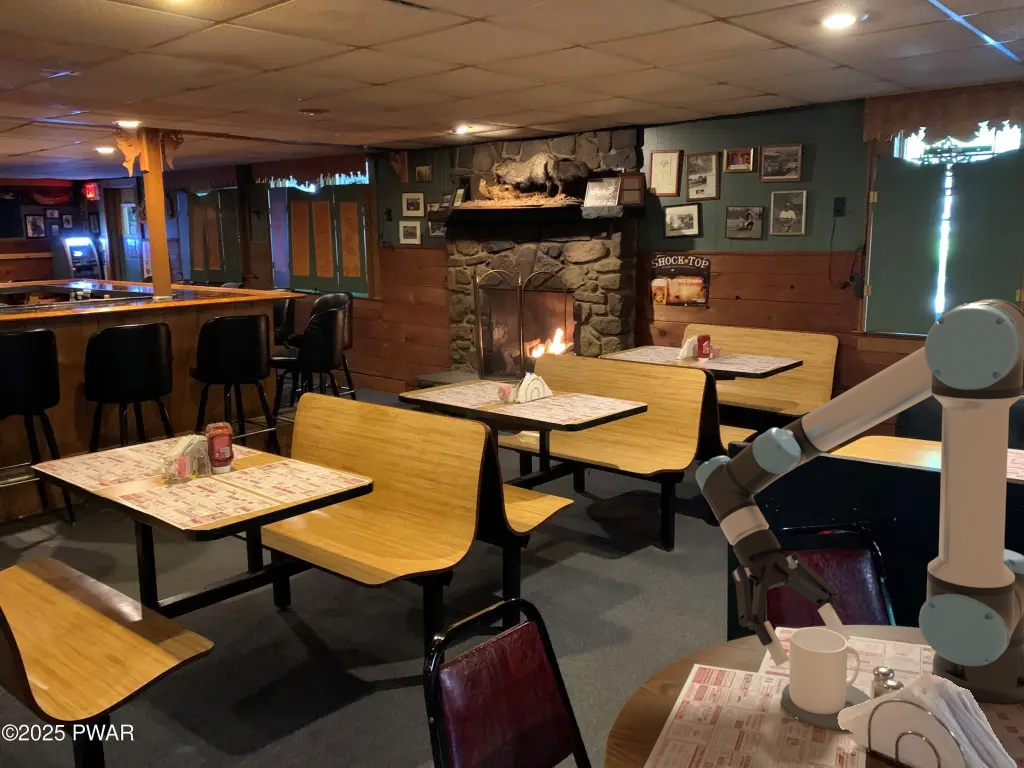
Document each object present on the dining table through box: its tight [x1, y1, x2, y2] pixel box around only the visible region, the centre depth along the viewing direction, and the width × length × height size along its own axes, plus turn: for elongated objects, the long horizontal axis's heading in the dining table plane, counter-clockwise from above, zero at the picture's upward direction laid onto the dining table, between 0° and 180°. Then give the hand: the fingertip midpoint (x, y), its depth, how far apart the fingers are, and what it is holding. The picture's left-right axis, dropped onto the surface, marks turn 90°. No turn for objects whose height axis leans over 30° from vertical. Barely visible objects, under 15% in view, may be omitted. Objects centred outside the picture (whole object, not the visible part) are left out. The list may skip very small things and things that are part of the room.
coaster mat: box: [781, 683, 872, 732], centre depth 131 cm, size 14×14×1 cm
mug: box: [788, 627, 861, 715], centre depth 130 cm, size 9×12×11 cm
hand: (814, 652), depth 132 cm, fingers open, 13 cm apart
